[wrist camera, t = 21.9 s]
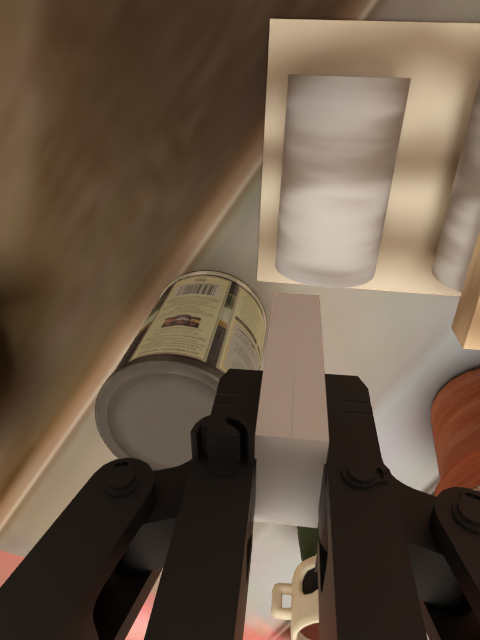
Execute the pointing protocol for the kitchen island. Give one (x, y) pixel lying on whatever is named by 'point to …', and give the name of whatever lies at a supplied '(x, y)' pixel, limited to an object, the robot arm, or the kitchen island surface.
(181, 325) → the coffee can
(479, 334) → the oak slab
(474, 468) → the potted plant
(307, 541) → the character mug
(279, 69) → the roller bed
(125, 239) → the kitchen island surface
